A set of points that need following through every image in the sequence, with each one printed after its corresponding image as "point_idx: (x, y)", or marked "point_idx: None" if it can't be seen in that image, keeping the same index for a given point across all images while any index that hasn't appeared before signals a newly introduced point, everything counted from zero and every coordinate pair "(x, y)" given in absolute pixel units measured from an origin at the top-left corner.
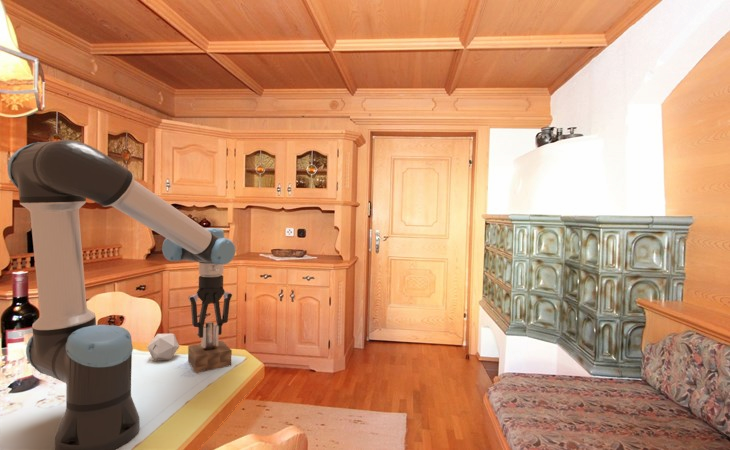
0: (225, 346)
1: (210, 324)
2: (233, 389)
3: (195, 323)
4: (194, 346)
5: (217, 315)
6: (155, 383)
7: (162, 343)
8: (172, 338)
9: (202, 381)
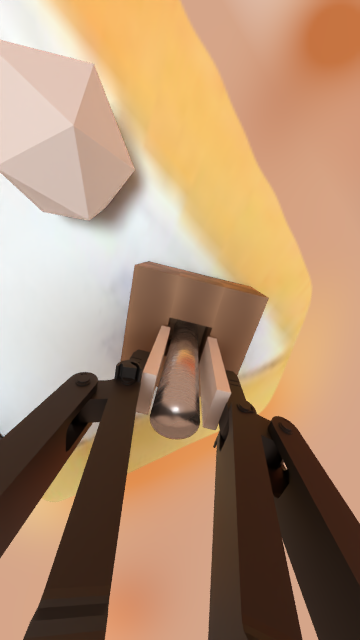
0: (233, 364)
1: (169, 434)
2: (158, 456)
3: (71, 429)
4: (151, 287)
5: (218, 506)
6: (44, 344)
7: (29, 192)
8: (71, 171)
9: None
